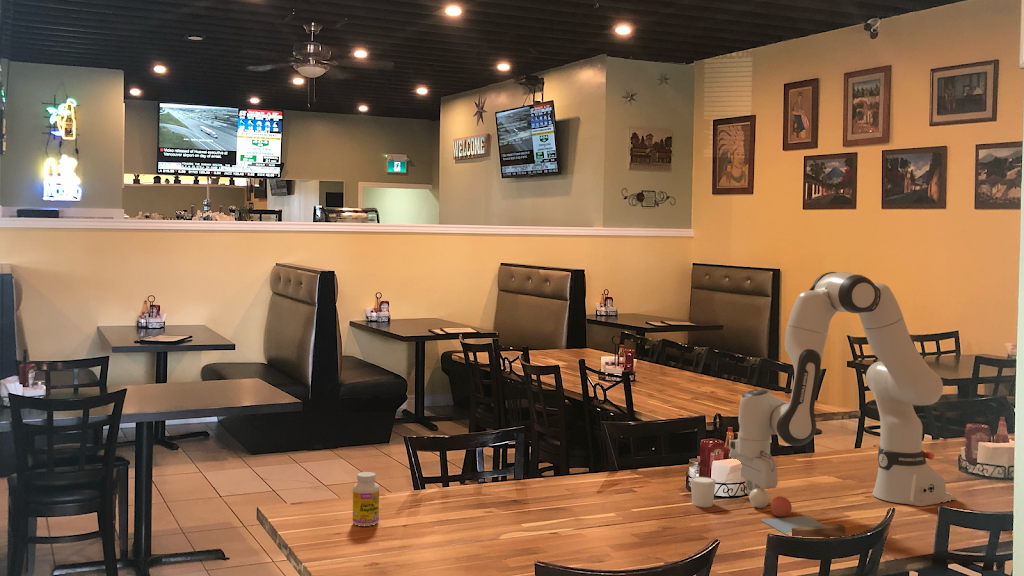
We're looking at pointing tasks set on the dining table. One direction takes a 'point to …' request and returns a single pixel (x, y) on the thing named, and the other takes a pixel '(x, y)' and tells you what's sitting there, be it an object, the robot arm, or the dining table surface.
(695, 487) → the white cup
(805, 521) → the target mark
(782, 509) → the red ball
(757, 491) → the cue ball
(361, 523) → the supplement bottle
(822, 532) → the strip
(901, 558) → the dining table surface
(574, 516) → the dining table surface
